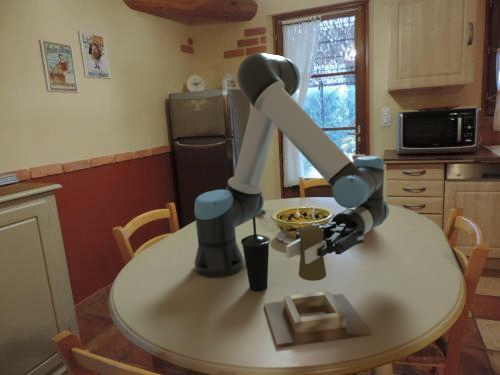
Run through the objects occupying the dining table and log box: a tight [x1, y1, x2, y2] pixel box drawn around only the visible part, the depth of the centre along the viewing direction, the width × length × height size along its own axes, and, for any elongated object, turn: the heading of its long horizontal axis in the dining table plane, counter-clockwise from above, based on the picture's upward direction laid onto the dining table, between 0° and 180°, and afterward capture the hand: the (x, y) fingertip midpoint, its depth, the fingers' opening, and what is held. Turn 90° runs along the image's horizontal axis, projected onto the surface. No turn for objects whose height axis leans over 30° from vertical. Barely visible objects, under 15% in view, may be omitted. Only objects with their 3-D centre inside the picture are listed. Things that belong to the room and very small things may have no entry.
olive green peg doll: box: [298, 224, 327, 282], centre depth 78 cm, size 6×6×11 cm
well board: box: [263, 290, 372, 349], centre depth 82 cm, size 20×16×4 cm
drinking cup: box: [240, 217, 271, 293], centre depth 96 cm, size 8×8×20 cm
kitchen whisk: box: [258, 208, 277, 227], centre depth 161 cm, size 6×34×6 cm, turn 19°
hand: (296, 254), depth 74 cm, fingers closed on olive green peg doll, 4 cm apart
